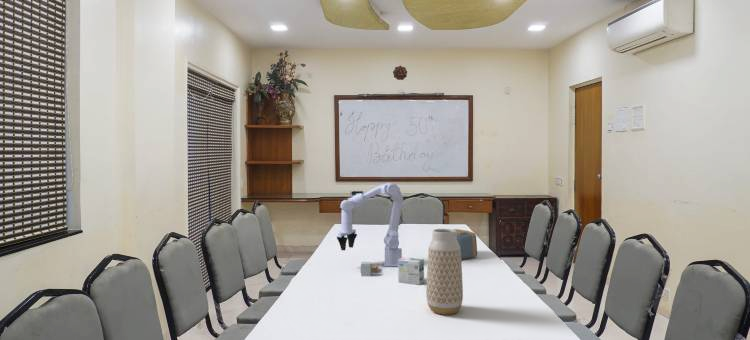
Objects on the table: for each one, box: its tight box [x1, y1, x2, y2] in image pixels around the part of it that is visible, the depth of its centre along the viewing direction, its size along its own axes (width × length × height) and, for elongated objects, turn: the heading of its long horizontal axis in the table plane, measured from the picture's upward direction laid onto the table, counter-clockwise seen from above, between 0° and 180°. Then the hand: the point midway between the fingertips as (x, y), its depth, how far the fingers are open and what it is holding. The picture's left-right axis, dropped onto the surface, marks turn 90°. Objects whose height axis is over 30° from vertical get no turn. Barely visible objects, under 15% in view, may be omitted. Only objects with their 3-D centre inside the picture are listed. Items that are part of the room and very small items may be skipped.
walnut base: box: [371, 263, 379, 274], centre depth 234 cm, size 8×8×3 cm
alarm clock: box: [452, 228, 478, 261], centre depth 263 cm, size 16×16×16 cm
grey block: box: [360, 261, 372, 277], centre depth 226 cm, size 4×4×6 cm
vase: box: [425, 228, 464, 316], centre depth 174 cm, size 14×14×31 cm
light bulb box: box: [397, 256, 425, 286], centre depth 213 cm, size 11×7×11 cm, turn 65°
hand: (347, 248), depth 241 cm, fingers open, 7 cm apart
